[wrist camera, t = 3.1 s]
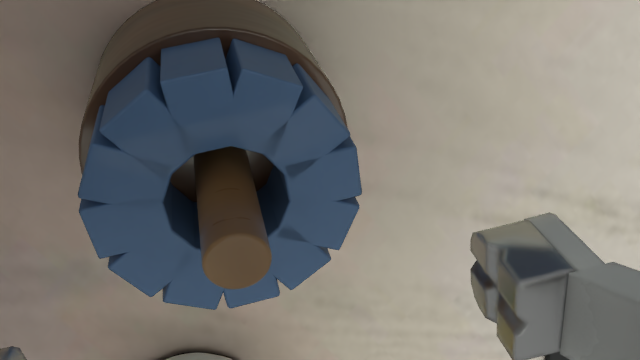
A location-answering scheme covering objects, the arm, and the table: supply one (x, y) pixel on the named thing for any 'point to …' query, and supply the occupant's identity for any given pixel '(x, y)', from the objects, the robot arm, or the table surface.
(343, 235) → the ring
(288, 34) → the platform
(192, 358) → the supplement bottle
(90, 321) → the table surface
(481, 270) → the robot arm
